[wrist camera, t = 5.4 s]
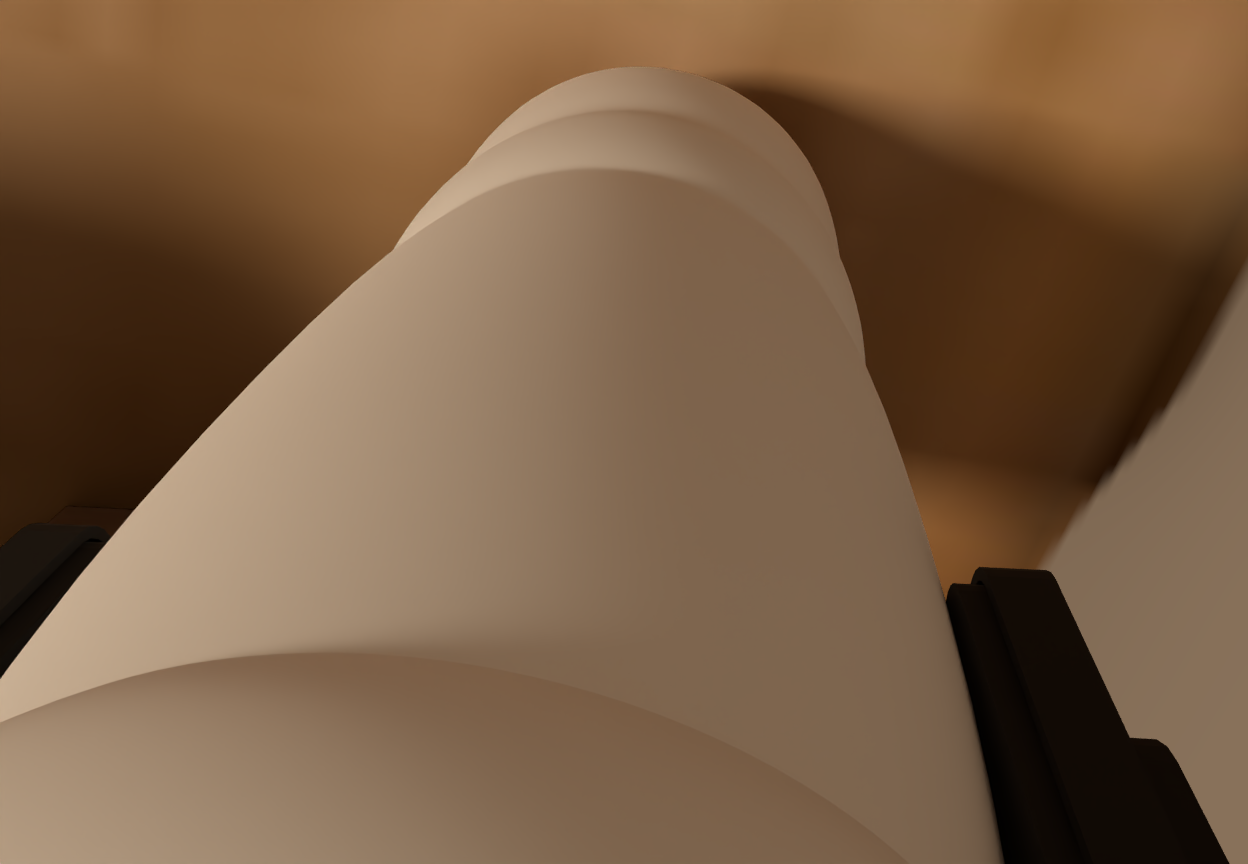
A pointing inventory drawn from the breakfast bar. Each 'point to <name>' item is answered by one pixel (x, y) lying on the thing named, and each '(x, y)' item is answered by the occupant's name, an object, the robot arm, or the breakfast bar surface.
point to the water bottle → (531, 550)
